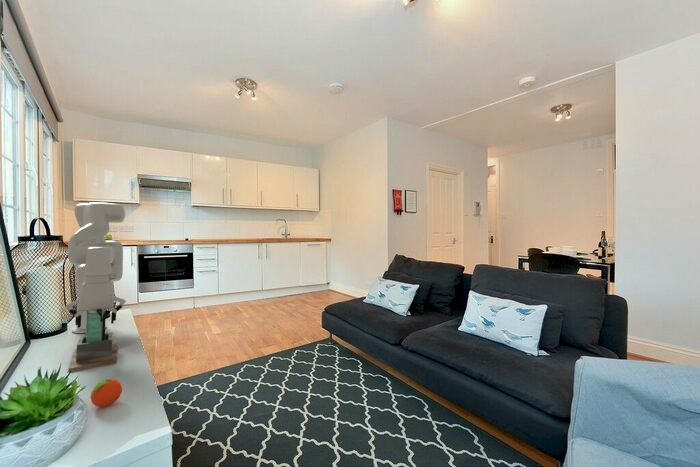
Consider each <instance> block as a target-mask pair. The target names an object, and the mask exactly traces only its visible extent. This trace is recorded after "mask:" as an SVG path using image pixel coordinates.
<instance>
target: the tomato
mask: <svg viewBox="0 0 700 467" xmlns="http://www.w3.org/2000/svg"><path fill="white" fill-rule="evenodd" d="M122 392H123V387H122V384H121V382H119V381H118V380H116V379H114V378H113V379H112V378H109V379H105V380H101V381H100V382H99V383H97V384H96V385H95V386H94V387H93V388H92V391H91V393H90V401H91V404H93V405H94V406H96V407H98V408H106V407H109V406H112V405H114V404H115V403H116V402H117V401H118V400H119V399H120V397H121V395H122Z"/></svg>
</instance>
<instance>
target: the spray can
mask: <svg viewBox="0 0 700 467" xmlns="http://www.w3.org/2000/svg"><path fill="white" fill-rule="evenodd" d="M106 313H107V309H93V310H90V311H87V325H86V333H85V334H86V335H85V336H86V343H89V342H96V341H103V340H105V334H106V328H105V324H106V318H107V317H106V316H107V315H106Z"/></svg>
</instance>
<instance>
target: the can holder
mask: <svg viewBox="0 0 700 467" xmlns="http://www.w3.org/2000/svg"><path fill="white" fill-rule="evenodd" d="M117 350H118V342H115V343H113V332H107V333H106V332H105V340H103V341H96V342H89V343H86V335H84V336H79V338H78V341H77V343H76V348H75V349H74V350H73V351H74V352H73V354H72V358H71V360H70V363H69V366H68V368H67V369H68V371H67V372H68V373H71V372H70V371H72V372H77V371H82V370H87V369H93V368H98V367H99V368H100V367H103V366H109V365H115V364H117V358H118V355H117V354H118V351H117Z"/></svg>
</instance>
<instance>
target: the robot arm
mask: <svg viewBox="0 0 700 467" xmlns="http://www.w3.org/2000/svg"><path fill="white" fill-rule="evenodd" d="M74 217H75V220H76V222H77V224H78V226H79V229H78V230H76V231H75V232H74V233H73V234H72V235H71V236H70V238H69V240H68V244H67V245H68V246H67V259H68V262H69V263H70V264H72V265H76V266H77V265H78V266H77V267H76V269H75V278H76V285H77V286H76V287H77V293H76V294H77V297H76V298H77V299H76V300H74V301H71V302H70V303H67V304H66V305H65V308H66V309H67V311H68V313H69V314H71V315H73V316H74V317H75V324H74V325H75V326H74V327H72V328H71V332H72V333H74V334H86V325H87V311H90V310H93V309H106V310H107V309H108V310H109V311H110V312H111V318H110V321H111V323H110V324H112V325H113V324H114V322H115V321H116V320H117V312H119V311H120V310H121V309H122V308H123V306H124V305H125V304H126V302H127V301H126V299H123V298H120V297H118V296H115V286H114V282H118V281H120V280H121V279H123V274H124V273H123V271H124V266H123V265H124V248H123V244H122V243H121V241H119V240H105V236H107V234H108V233H109V232H110V223H116V224H117V223H122V222H123V221H124V220H125V219H126V218H125V217H126V211H125V207H124V206H123V205H122V204H120V203H111V202H110V203H109V202H99V201H95V202H94V201H93V202H92V201H91V202H89V203H88V202H86V203H78V204H76V205H75V207H74ZM115 301H116V302H118V303H119V304H118V305H117V306H116V307H115V306H114V304H115ZM73 306H76V310H75V308H73ZM106 328H107V324H106V323H105V329H106Z"/></svg>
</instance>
